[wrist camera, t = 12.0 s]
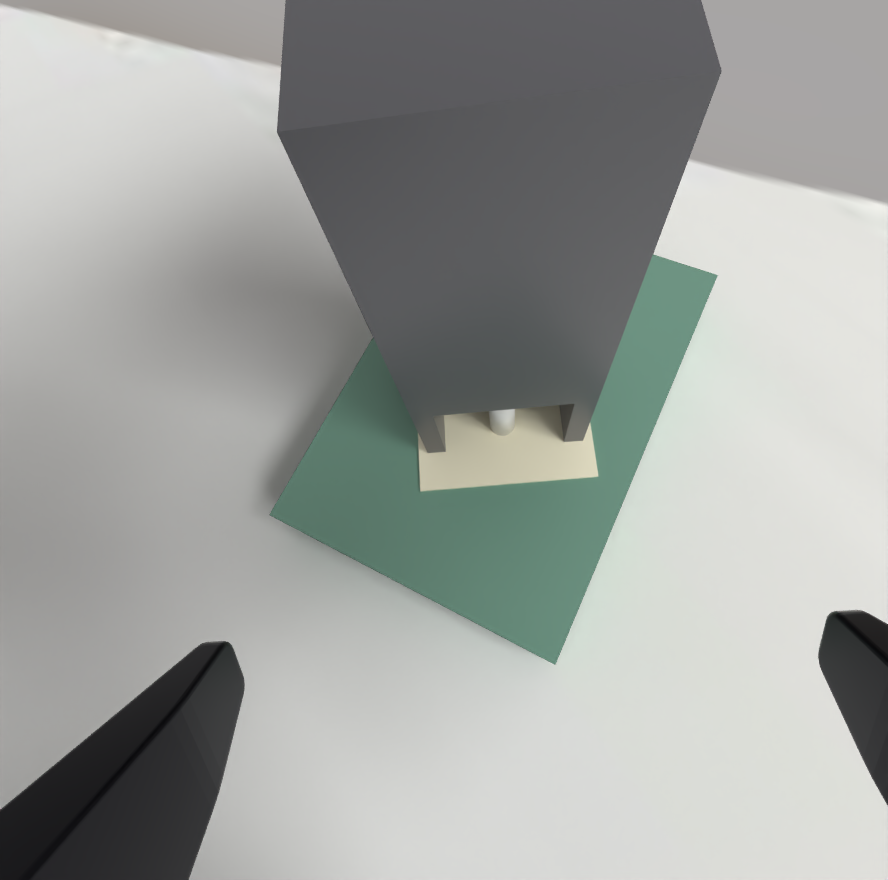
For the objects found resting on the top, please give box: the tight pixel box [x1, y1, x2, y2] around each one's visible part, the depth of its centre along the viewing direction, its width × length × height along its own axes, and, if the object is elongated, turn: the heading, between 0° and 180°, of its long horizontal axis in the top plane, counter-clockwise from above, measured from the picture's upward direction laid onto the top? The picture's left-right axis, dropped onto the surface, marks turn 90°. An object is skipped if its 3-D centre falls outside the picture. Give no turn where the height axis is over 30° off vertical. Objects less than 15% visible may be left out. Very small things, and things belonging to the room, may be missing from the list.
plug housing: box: [277, 0, 721, 453], centre depth 13 cm, size 4×5×12 cm
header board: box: [270, 255, 718, 664], centre depth 18 cm, size 14×10×4 cm
